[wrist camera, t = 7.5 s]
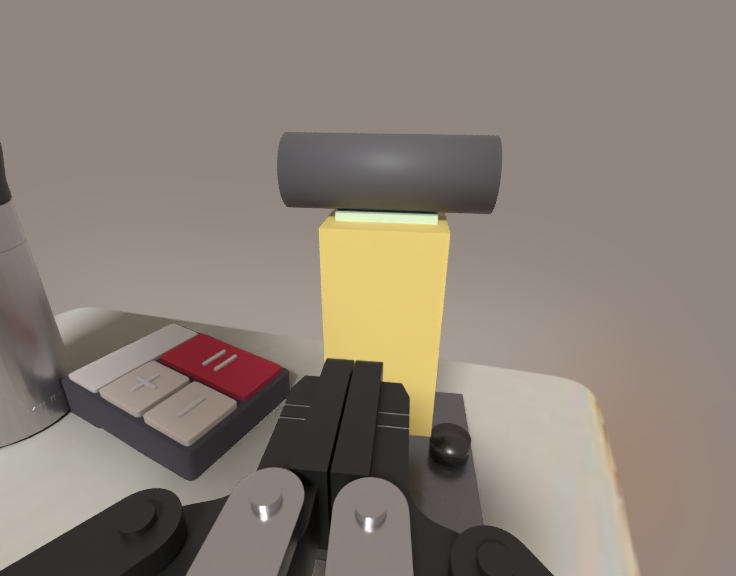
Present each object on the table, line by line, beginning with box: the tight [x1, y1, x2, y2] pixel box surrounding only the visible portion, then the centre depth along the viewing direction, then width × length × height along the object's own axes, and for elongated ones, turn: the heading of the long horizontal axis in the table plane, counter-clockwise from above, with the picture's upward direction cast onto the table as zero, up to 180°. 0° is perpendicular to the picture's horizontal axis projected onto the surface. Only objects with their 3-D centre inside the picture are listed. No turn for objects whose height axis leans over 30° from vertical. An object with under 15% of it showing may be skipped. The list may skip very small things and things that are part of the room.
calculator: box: [61, 323, 290, 481], centre depth 35 cm, size 11×4×15 cm
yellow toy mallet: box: [277, 132, 502, 437], centre depth 23 cm, size 10×5×18 cm, turn 84°
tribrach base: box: [315, 392, 483, 560], centre depth 27 cm, size 12×12×4 cm
